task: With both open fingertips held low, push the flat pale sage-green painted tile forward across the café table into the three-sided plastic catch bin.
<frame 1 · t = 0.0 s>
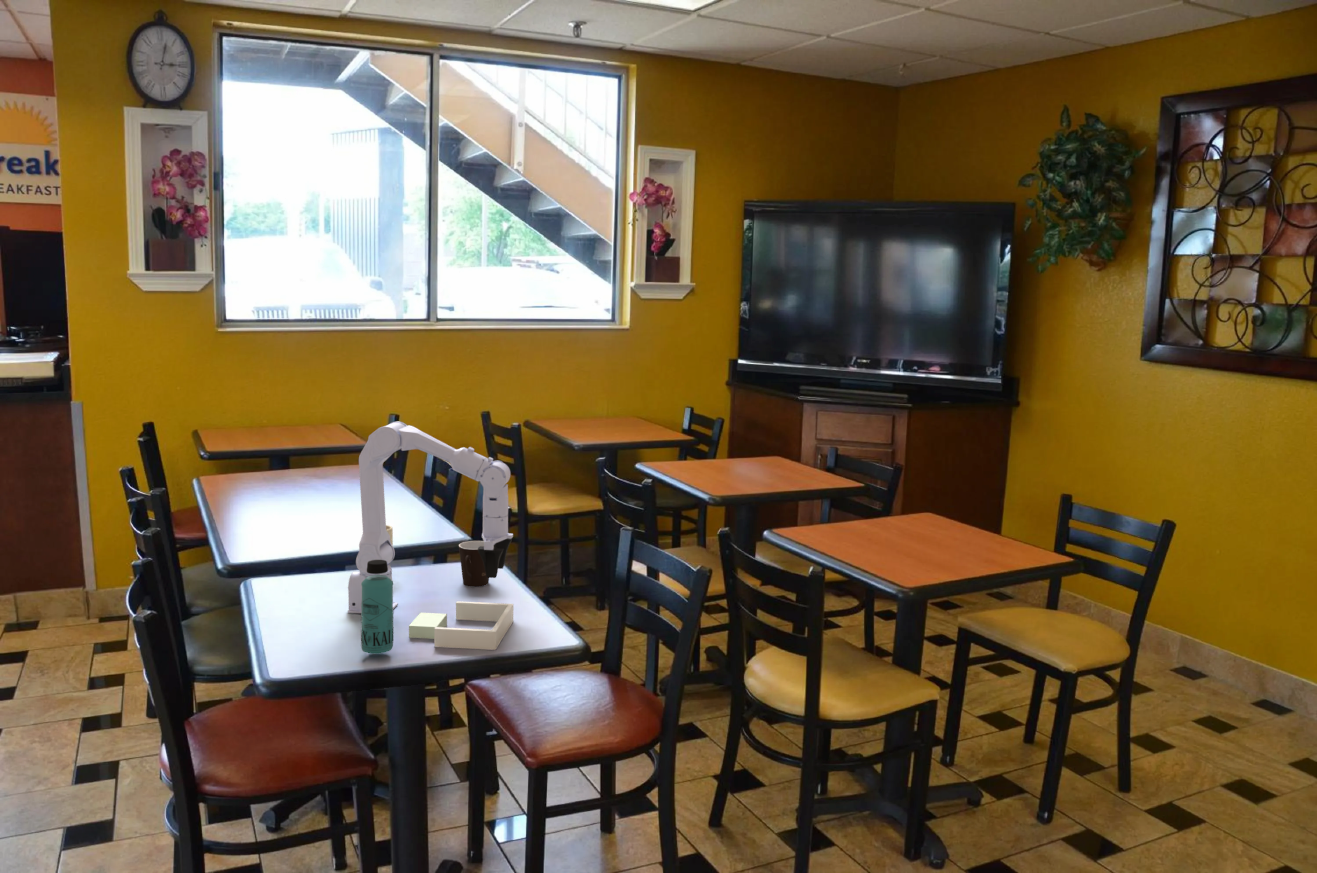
hand: (495, 572, 238), 10 cm above the table, tool pointing down, fingers open, 7 cm apart
character mug: (378, 577, 267), on the table
catch bin: (475, 633, 227), on the table
coffee mug: (471, 585, 263), on the table
green tile: (428, 632, 227), on the table
beverage bottle: (377, 656, 212), on the table
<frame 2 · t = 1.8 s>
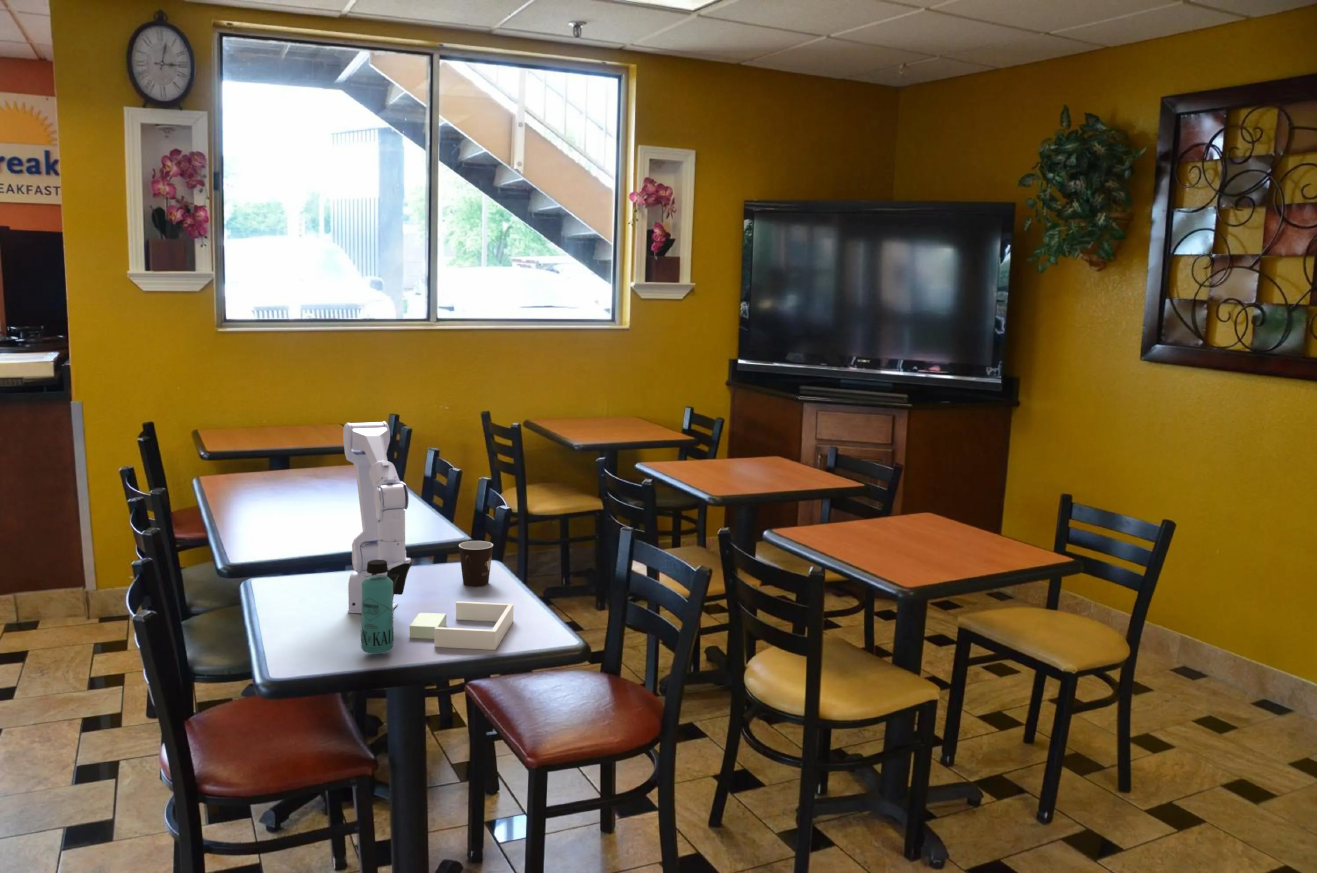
hand: (392, 599, 227), 7 cm above the table, tool pointing down, fingers open, 7 cm apart
nothing on the table moved.
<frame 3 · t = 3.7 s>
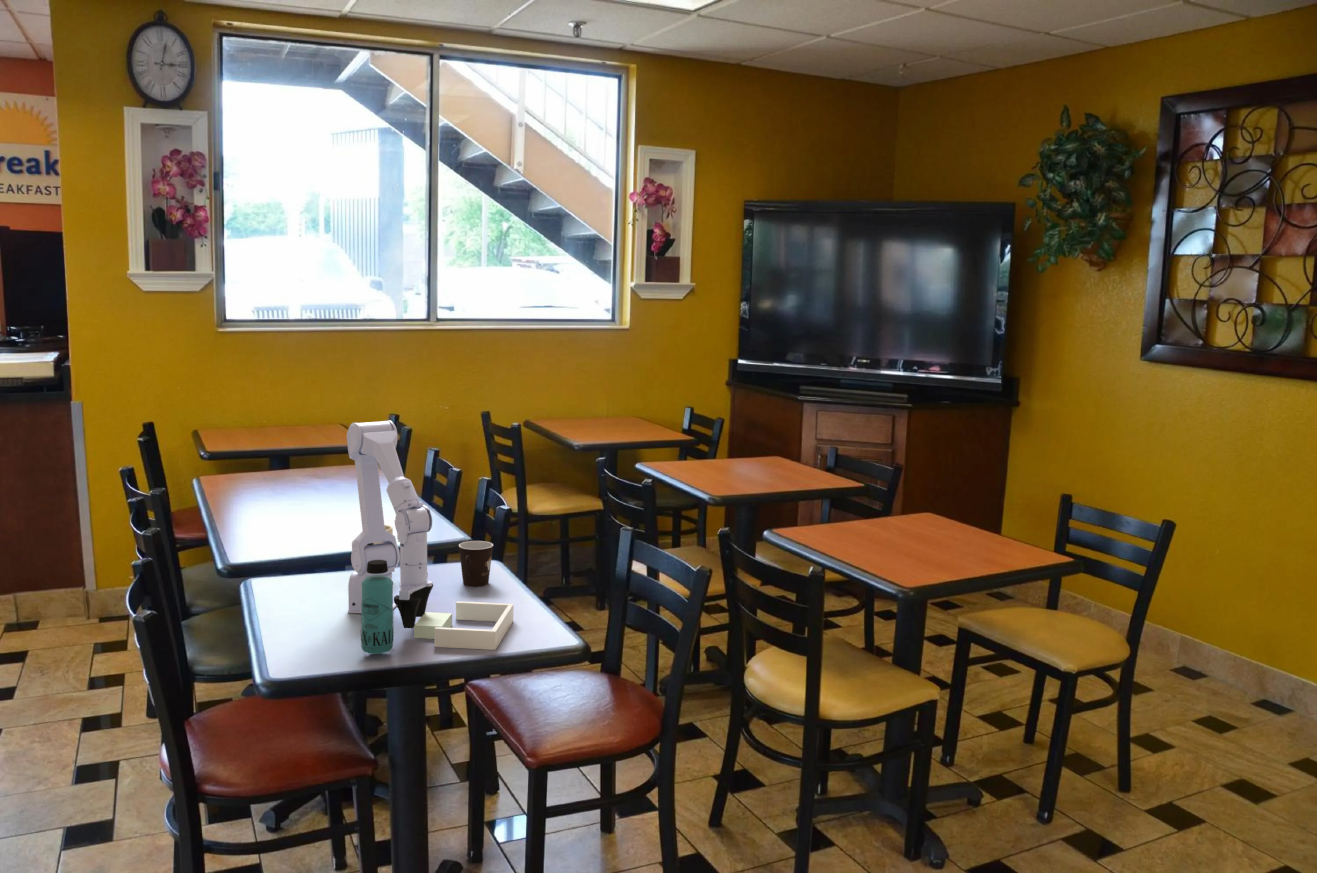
hand: (414, 622, 227), 2 cm above the table, tool pointing down, fingers open, 7 cm apart
green tile: (433, 632, 227), on the table
everything else where it was.
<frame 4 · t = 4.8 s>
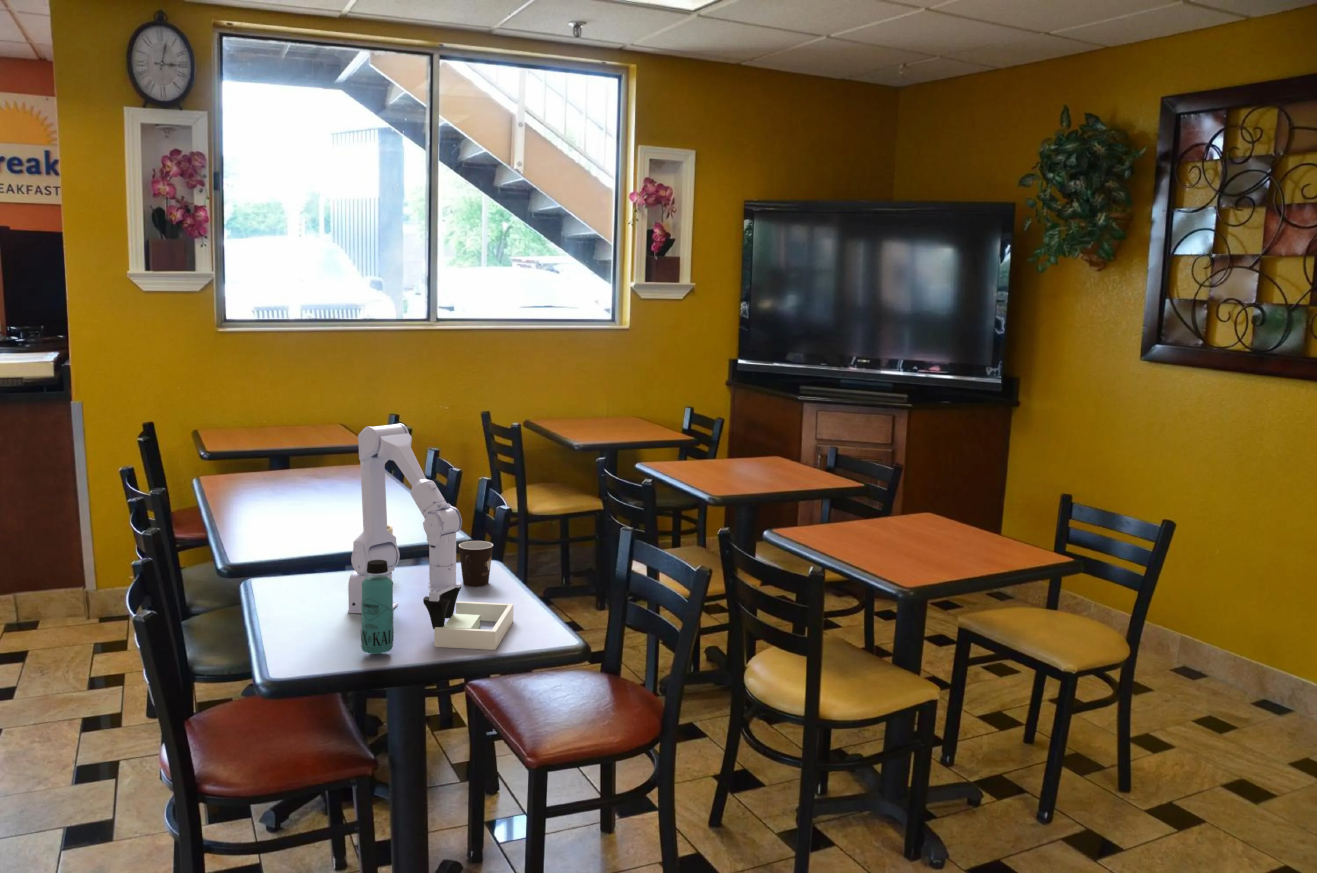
hand: (442, 623, 227), 2 cm above the table, tool pointing down, fingers open, 7 cm apart
green tile: (461, 634, 227), on the table
everything else where it was.
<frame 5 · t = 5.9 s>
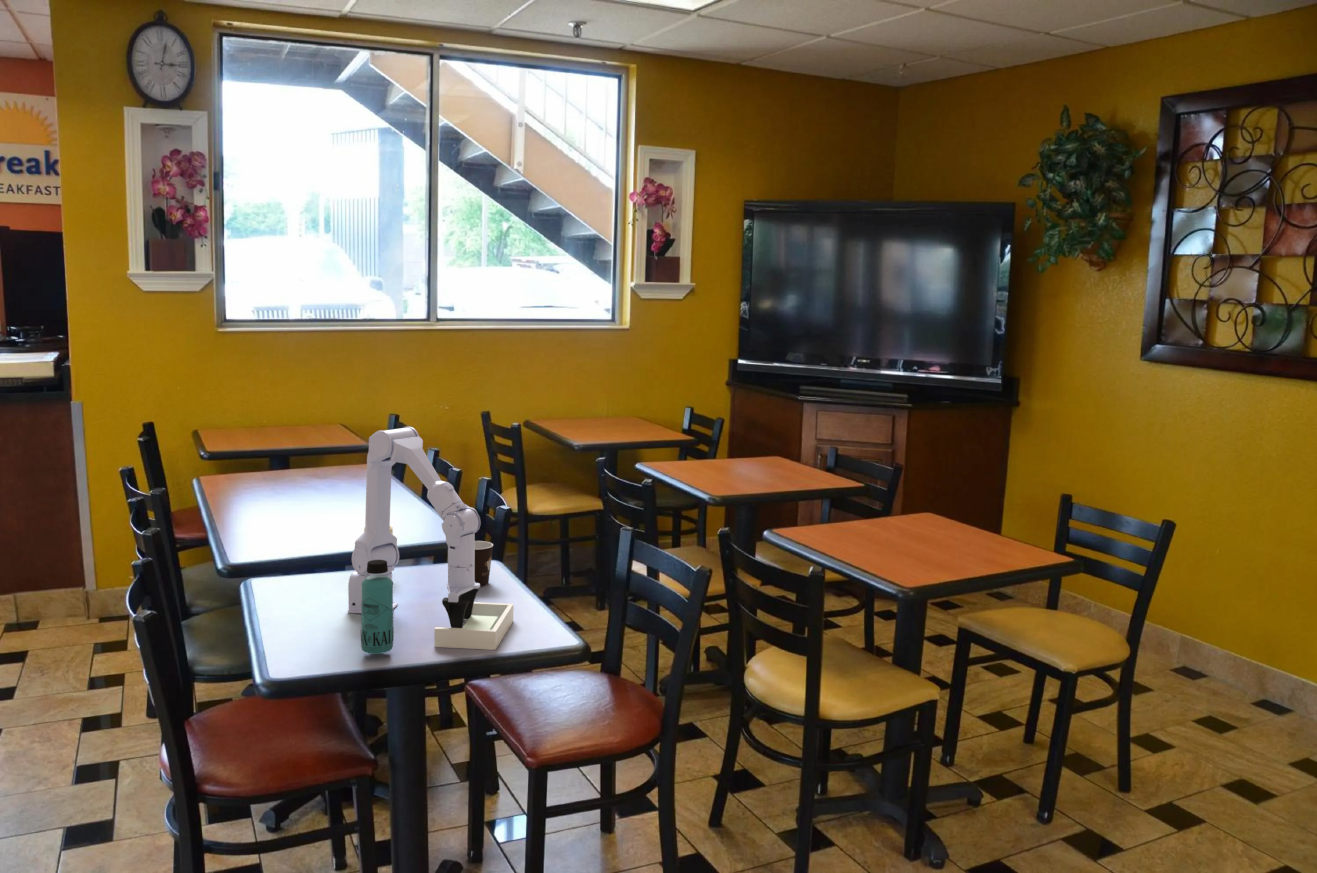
hand: (461, 624, 227), 2 cm above the table, tool pointing down, fingers open, 7 cm apart
green tile: (480, 635, 227), on the table
everything else where it was.
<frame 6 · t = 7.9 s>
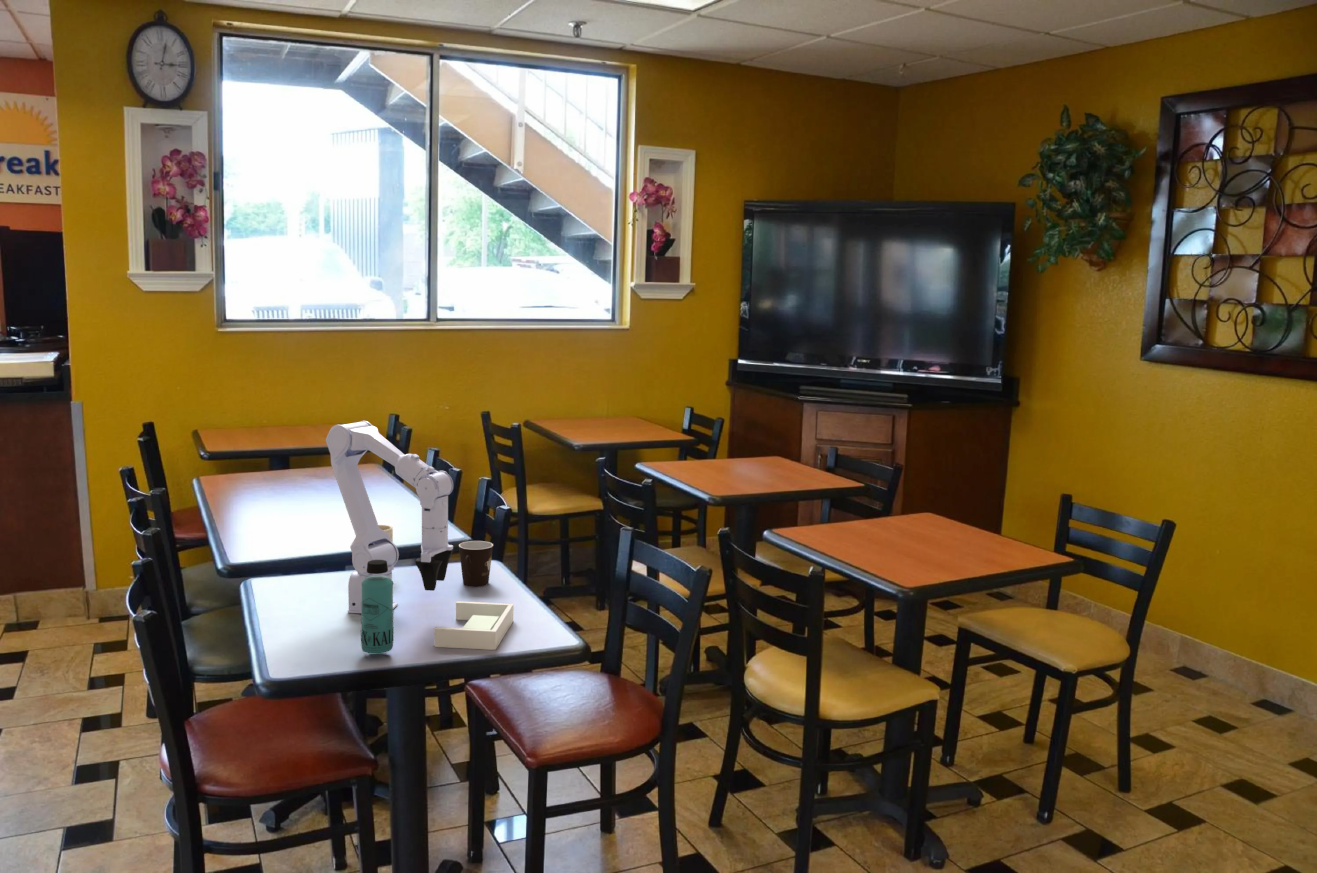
hand: (434, 585, 233), 8 cm above the table, tool pointing down, fingers open, 7 cm apart
nothing on the table moved.
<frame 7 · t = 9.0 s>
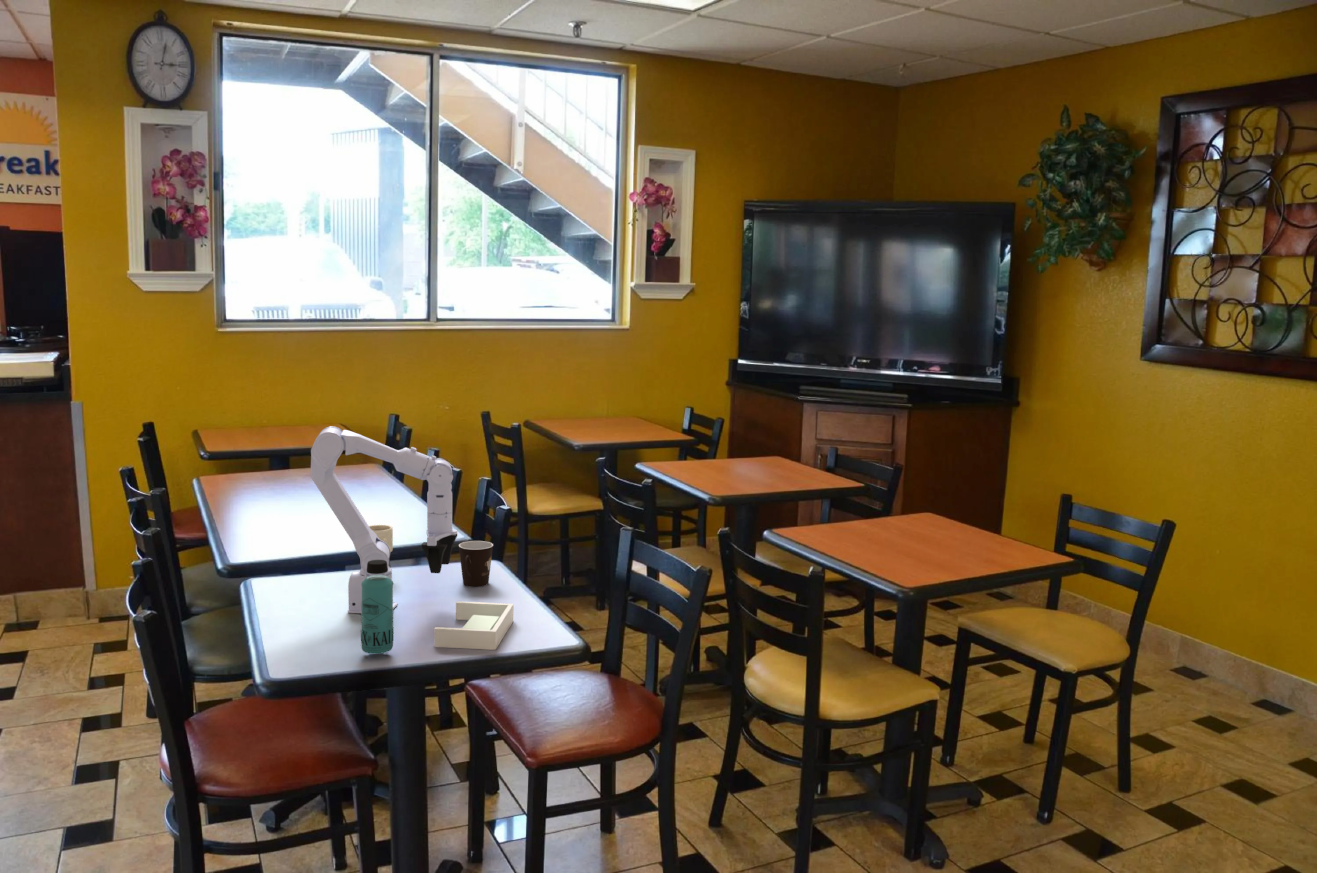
hand: (439, 568, 243), 9 cm above the table, tool pointing down, fingers open, 7 cm apart
nothing on the table moved.
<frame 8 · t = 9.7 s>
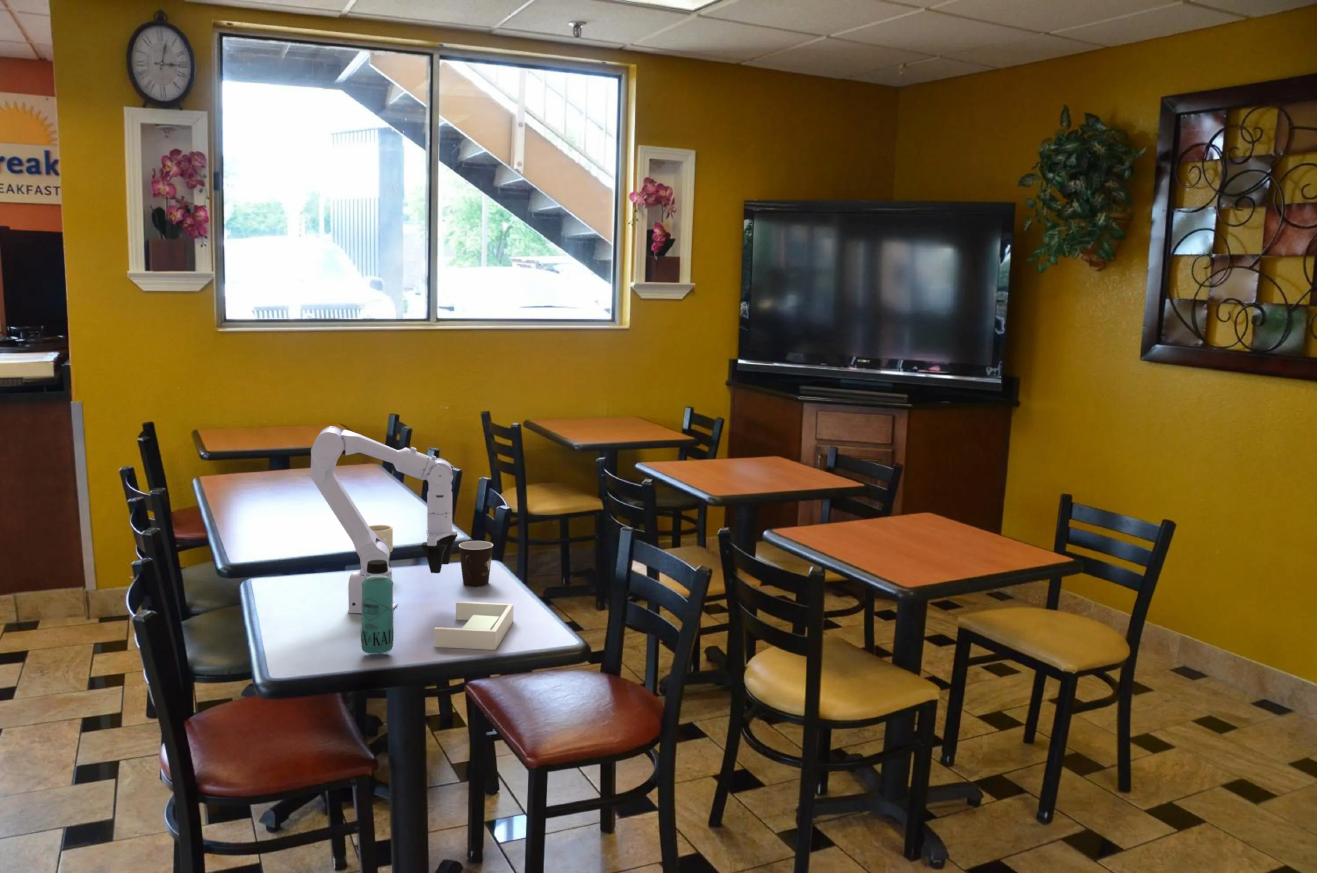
hand: (439, 568, 243), 9 cm above the table, tool pointing down, fingers open, 7 cm apart
nothing on the table moved.
at the end: green tile inside the target area on the catch bin (1.1 cm from its centre), point 0.0 cm above the catch bin's base; green tile moved 11.8 cm from its start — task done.
